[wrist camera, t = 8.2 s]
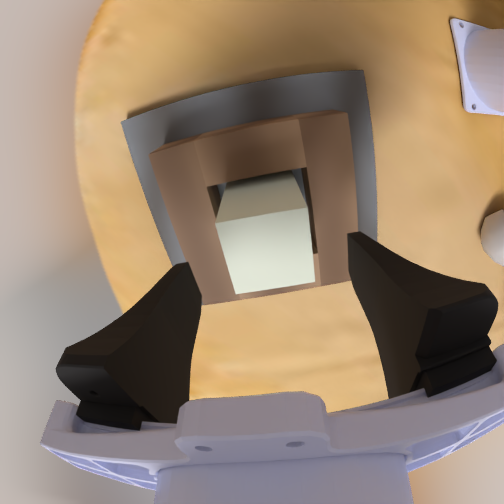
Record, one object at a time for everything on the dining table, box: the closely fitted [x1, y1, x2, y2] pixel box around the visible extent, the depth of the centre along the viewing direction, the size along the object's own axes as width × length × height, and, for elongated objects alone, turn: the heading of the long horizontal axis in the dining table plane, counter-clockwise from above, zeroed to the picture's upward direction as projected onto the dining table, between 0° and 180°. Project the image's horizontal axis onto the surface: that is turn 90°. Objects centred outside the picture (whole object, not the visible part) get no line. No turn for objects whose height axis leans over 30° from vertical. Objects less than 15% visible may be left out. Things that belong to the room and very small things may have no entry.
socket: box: [121, 70, 377, 305], centre depth 18 cm, size 16×16×4 cm
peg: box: [215, 170, 315, 294], centre depth 16 cm, size 4×4×7 cm
